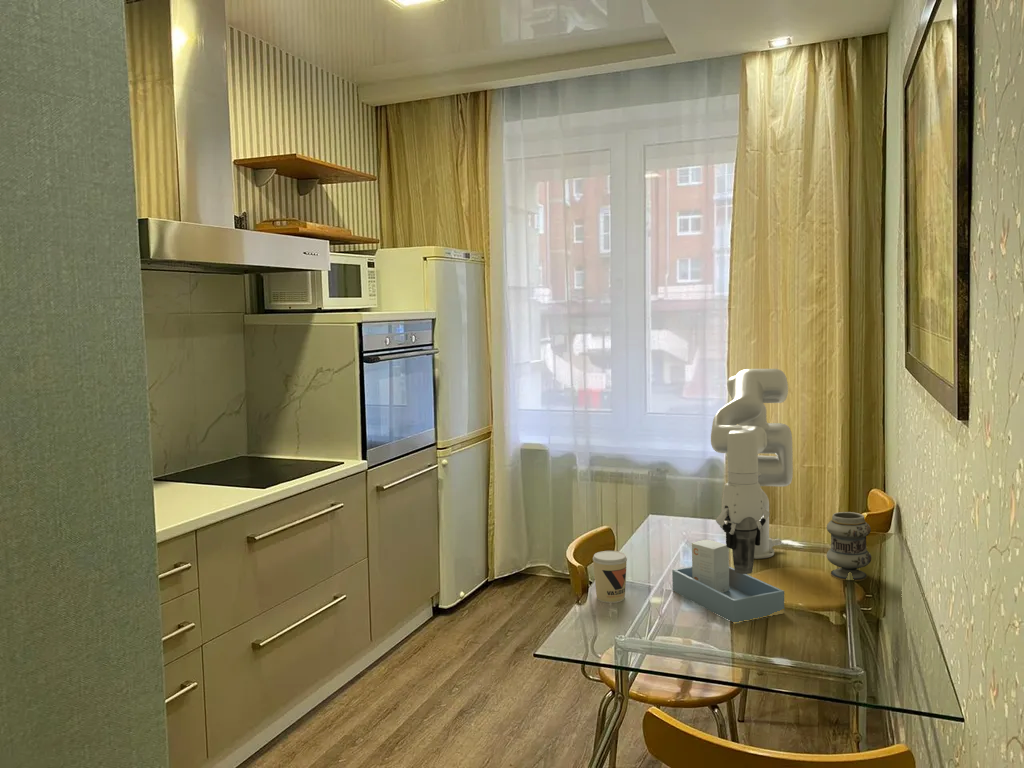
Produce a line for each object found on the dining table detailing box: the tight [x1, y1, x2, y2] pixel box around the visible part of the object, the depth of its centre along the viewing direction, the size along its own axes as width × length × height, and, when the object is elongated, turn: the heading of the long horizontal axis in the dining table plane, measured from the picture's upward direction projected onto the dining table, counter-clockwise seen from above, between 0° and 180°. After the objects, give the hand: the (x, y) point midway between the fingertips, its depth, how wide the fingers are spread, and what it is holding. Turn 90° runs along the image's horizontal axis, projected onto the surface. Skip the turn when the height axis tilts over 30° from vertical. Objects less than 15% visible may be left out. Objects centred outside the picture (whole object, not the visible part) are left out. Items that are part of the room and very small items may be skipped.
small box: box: [691, 539, 730, 593], centre depth 224 cm, size 8×6×13 cm
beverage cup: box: [730, 517, 758, 575], centre depth 209 cm, size 7×7×20 cm
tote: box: [671, 565, 785, 622], centre depth 218 cm, size 16×28×6 cm, turn 22°
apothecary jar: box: [826, 511, 872, 582], centre depth 235 cm, size 12×12×18 cm
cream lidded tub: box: [592, 550, 628, 604], centre depth 223 cm, size 9×9×12 cm
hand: (743, 545), depth 209 cm, fingers closed on beverage cup, 6 cm apart
